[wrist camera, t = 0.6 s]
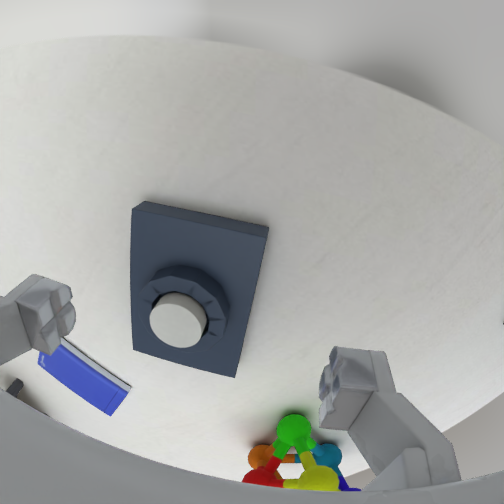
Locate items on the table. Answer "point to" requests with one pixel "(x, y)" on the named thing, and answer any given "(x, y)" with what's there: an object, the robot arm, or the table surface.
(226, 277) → the push button box
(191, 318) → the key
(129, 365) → the table surface
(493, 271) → the table surface
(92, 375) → the hard drive
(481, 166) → the table surface
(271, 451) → the molecular model
